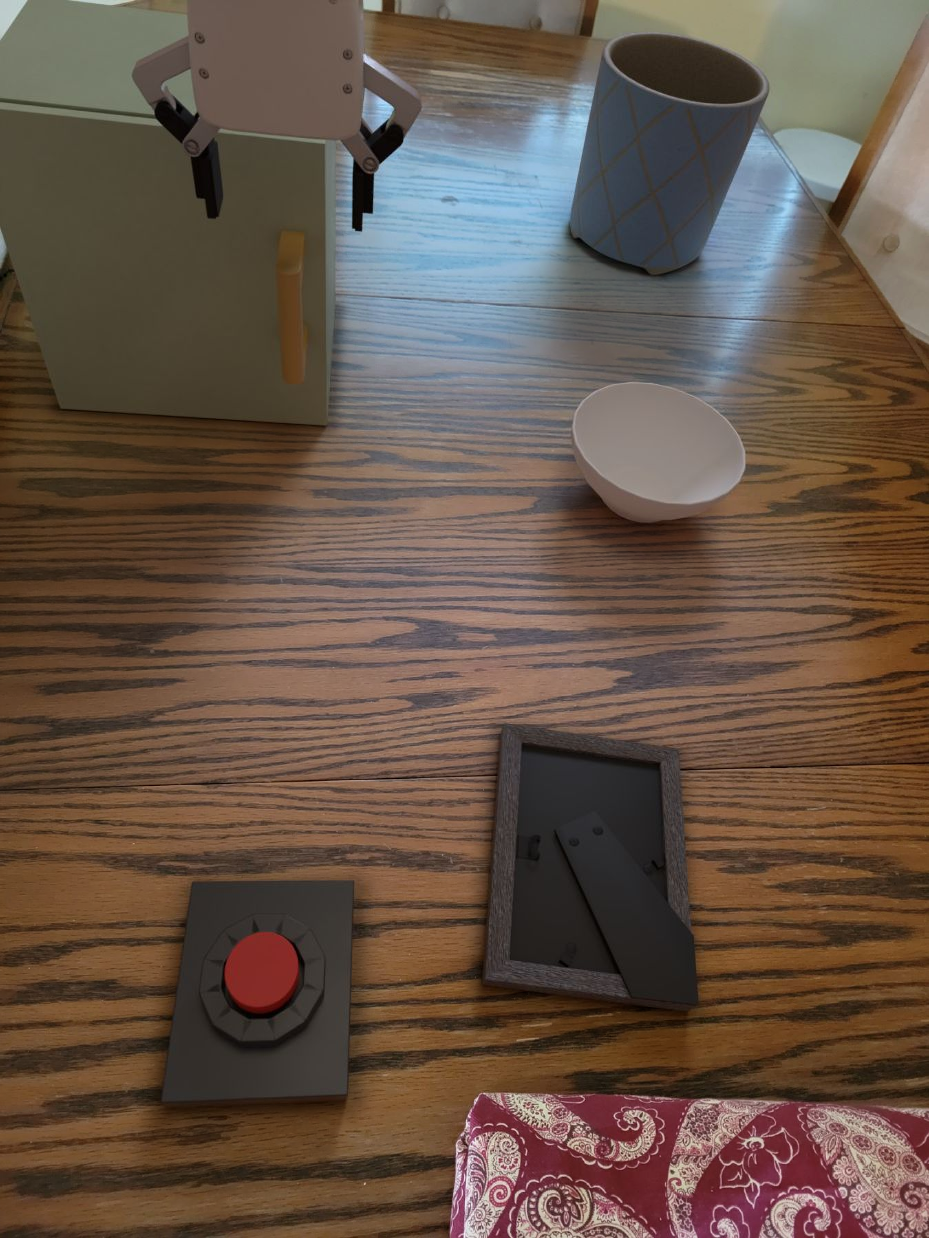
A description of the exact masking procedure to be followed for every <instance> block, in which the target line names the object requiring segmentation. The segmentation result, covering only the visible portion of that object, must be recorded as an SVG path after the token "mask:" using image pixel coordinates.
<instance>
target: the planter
mask: <svg viewBox="0 0 929 1238" xmlns="http://www.w3.org/2000/svg"><path fill="white" fill-rule="evenodd" d="M770 87H771V86H770V82H769V80H768V77H767V76H766V75H765V74H764V72H763V71H762V70H761V69H760V68H759V67H758V66H756V65H755V63H753V62H751V61H750V60H748V59H747V58H746V57H744V56H742V55H741V54H738V53H736V52H735V51H733V50H731V49H728V48H726V47H724V46H721V45H718V44H716V43H713V42H710V41H707V40H703V39H700V38H697V37H692V36H689V35H683V34H679V33H671V32H662V31H661V32H660V31H636V32H629V33H624V34H621V35H618V36H614V37H613V38H611V39H610V40H609V41H607V42H606V44H605V45H604V47H603V49H602V52H601V57H600V62H599V67H598V72H597V77H596V82H595V85H594V91H593V97H592V101H591V106H590V111H589V114H588V122H587V126H586V131H585V135H584V142H583V147H582V153H581V157H580V162H579V167H578V172H577V177H576V183H575V188H574V193H573V198H572V203H571V209H570V219H569V220H570V222H569V227H570V233H571V236H572V237H573V239H581V240H582V241H583V242H584V243H585V244H586V245H588V246H589V247H591V248H592V249H593V250H595V251H597V252H599V253H600V254H602V255H604V256H605V257H609V258H611V259H613V260H616V261H618V262H622V263H625V264H628V265H632V266H636V267H639V268H643V269H645V270H646V272H647V273H648V274H649V275H650V276H659V275H662V274H665V273H670V272H672V271H675V270H678V269H681V268H682V267H685V266H686V265H689V264H690V263H692V262H694V261H695V260H696V259H697V258H698V257H699V256H700V255H701V253H702V252H703V250H704V249H705V246H706V244H707V242H708V240H709V239H710V238H709V237H710V235H711V233H712V231H713V228H714V226H715V223H716V221H717V218H718V216H719V213H720V211H721V209H722V206H723V204H724V201H725V199H726V197H727V195H728V193H729V190H730V188H731V186H732V184H733V183H732V182H733V180H734V178H735V176H736V174H737V171H738V169H739V167H740V164H741V162H742V159H743V157H744V155H745V152H746V150H747V147H748V145H749V142H750V141H751V138H752V136H753V133H754V131H755V128H756V126H757V123H758V121H759V118H760V116H761V113H762V111H763V108H764V106H765V103H766V101H767V99H768V97H769V93H770Z"/></svg>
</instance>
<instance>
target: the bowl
mask: <svg viewBox="0 0 929 1238" xmlns="http://www.w3.org/2000/svg"><path fill="white" fill-rule="evenodd" d="M570 432H571V433H570V441H571V447H572V452H573V456H574V462H575V463H576V465H577V467H578V469H579V471H580V473H581V474H582V476H583V478H584V479H585V481H586V483H587V484H588V485H589V486H590V487H591V489H593V490H594V492H596V494H597V495H598V496H599V497H600V498H601V500H602V502H603V503H604V505H606V506H607V508H608V509H609V510H611V511H612V512H614V513H615V514H616V515H617V516H619V517H621V518H624V519H626V520H629V521H632V522H636V523H645V524H651V523H657V522H661V521H674V520H678V519H683V518H684V519H685V518H689V517H693V516H696V515H698V514H701V513H703V512H705V511H708V510H710V509H712V508H714V507H716V506H717V505H719V504H720V503H721V502H723V501H724V500H725V499H726V498H727V497H728V496H729V495H730V494H731V493H732V492H733V491H734V490H735V489H736V488H737V486H738V485H739V484H740V483H741V480H742V478H743V475H744V473H745V471H746V450H745V447H744V444H743V442H742V439H741V436H740V435H739V433H738V432H737V431H736V429H735V428H734V426H733V425H732V424H731V422H730V421H729V420H728V419H727V418H726V417H724V415H722V414H721V413H720V412H719V411H718V410H717V409H716V408H715V407H714V406H711V405H710V404H708V403H707V402H705V401H704V400H702V399H700V398H699V397H697V396H696V395H692V394H691V393H688V392H685V391H682V390H681V389H678V388H675V387H672V386H666V385H663V384H657V383H653V382H642V381H641V382H639V381H629V382H620V383H613V384H609V385H607V386H604V387H602V388H599V389H596V390H594V391H593V392H592V393H591V394H589V395H588V396H586V397H585V398H584V399H582V400H581V402H580V403H579V405H578V407H577V408H576V410H575V411H574V413H573V418H572V423H571V431H570Z"/></svg>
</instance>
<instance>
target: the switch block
mask: <svg viewBox="0 0 929 1238" xmlns="http://www.w3.org/2000/svg"><path fill="white" fill-rule="evenodd" d="M354 901H355V880H353V879H349V880H347V879H346V880H343V879H341V880H340V879H339V880H220V881H219V880H214V881H213V880H208V881H207V880H206V881H204V880H203V881H202V880H201V881H197V880H196V881H192V882H191V886H190V892H189V900H188V908H187V913H186V922H185V928H184V934H183V935H184V936H183V940H182V941H183V942H182V949H181V954H180V955H181V956H180V964H179V971H178V976H177V983H176V991H175V997H174V1005H173V1012H172V1019H171V1027H170V1032H169V1039H168V1048H167V1055H166V1061H165V1067H164V1073H163V1082H162V1089H161V1095H160V1104H162V1105H163V1106H164V1107H165V1108H170V1109H172V1108H193V1107H197V1108H198V1107H221V1106H243V1105H245V1106H247V1105H268V1104H269V1105H270V1104H293V1103H317V1102H318V1103H320V1102H341V1101H343V1102H344V1101H345V1102H346V1101H348V1099H349V1082H350V1081H349V1080H350V1079H349V1076H350V1074H349V1073H350V1048H351V1047H350V1041H351V1012H352V1011H351V1008H352V1007H351V1006H352V975H353V974H352V973H353V971H352V970H353V939H354V938H353V937H354V907H355V906H354ZM259 932H272V933H276V934H279V935H281V936H283V937H284V938H285V939H287V940H288V941H289V942H290V943H291V945H292V946H293V948H294V949H295V952H296V954H297V958H298V964H299V981H298V985H297V987H296V990H295V992H294V994H293V995H292V997H291V998H290V999H289V1000H288V1001H287V1002H286V1003H285V1004H284V1005H283V1006H282V1007H280V1008H279V1009H277V1010H275V1011H272V1012H269V1013H265V1014H254V1013H250V1012H247V1011H245V1010H243V1009H242V1008H240V1007H239V1006H238V1005H237V1004H236V1003H235V1002H234V1000H233V999H232V997H231V995H230V993H229V991H228V988H227V986H226V982H225V966H226V962H227V959H228V957H229V955H230V953H231V951H232V950H233V948H234V947H235V946H236V945H237V944H238V943H239V942H240V941H241V940H243V939H244V938H246V937H248V936H250V935H252V934H255V933H259Z"/></svg>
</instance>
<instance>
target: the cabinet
mask: <svg viewBox="0 0 929 1238" xmlns="http://www.w3.org/2000/svg"><path fill="white" fill-rule="evenodd" d="M186 36H188V21H187V14H183V13H176V12H168V11H167V12H166V11H160V10H151V9H143V8H135V7H127V6H120V5H111V4H105V3H95V2H87V1H77V0H26V1H25V3H24V5H23V6H22V7H21V9H20V10H19V12H18V14H17V15H15V18H14V19H13V21H12V22H11V24H10V25H9V27H8V28H7V30H6V31H5V32H4V34H3V35H2V37H1V39H0V102H3V103H13V104H22V105H31V106H40V107H50V108H59V109H68V110H77V111H86V112H96V113H105V114H114V115H123V116H132V117H142V118H151V119H156V117H155V113H154V110H153V109H152V107H151V106H150V105H149V104H148V103H147V101H146V100H145V98H144V96H143V95H142V93H141V92H140V90H139V89H138V87H137V85H136V84H135V82H134V81H133V78H132V71H133V69H134V67H135V64H136V62H137V61H138V60H140V59H142V58H144V57H146V56H148V55H150V54H152V53H154V52H156V51H158V50H160V49H162V48H164V47H166V46H168V45H170V44H172V43H174V42H176V41H178V40H180V39H182V38H184V37H186ZM165 83H166V85H167V87H168V88H169V92H170V93H171V94H172V95H173V96H174V97H175V98H176V99H177V100H178V101H179V102H180V103H181V104H182V105H183V106H184V107H185V108H186V109H187V110H188V111H189V112H190V113H191V114H192V115H194V114H195V112H196V111H197V108H196V105H195V100H194V94H193V87H192V78H191V69H189V70H187V71H185V72H183V73H181V74H179V75H177V76H175V77H173V78H171V79H169V80H166V81H165ZM336 169H337V140H326V256H327V398H328V409H329V406H330V391H331V378H332V365H333V352H334V351H333V350H334V338H335V337H334V336H335V335H334V334H335V322H336V321H335V320H336V289H337V288H336V279H337V278H336V276H337V275H336V273H337V272H336V269H337V267H336V265H337V264H336V259H337V258H336V256H337V255H336V248H337V247H336V243H337V241H336V239H337V238H336V233H337V231H336V230H337V229H336V228H337V225H336V224H337V221H336V219H337V218H336V216H337V215H336V214H337V170H336Z"/></svg>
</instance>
